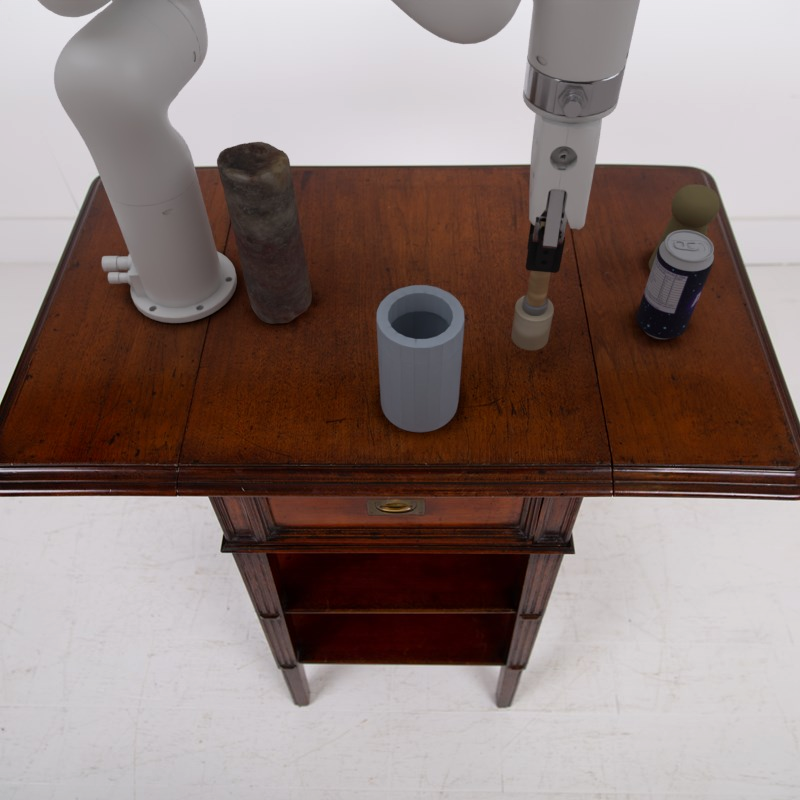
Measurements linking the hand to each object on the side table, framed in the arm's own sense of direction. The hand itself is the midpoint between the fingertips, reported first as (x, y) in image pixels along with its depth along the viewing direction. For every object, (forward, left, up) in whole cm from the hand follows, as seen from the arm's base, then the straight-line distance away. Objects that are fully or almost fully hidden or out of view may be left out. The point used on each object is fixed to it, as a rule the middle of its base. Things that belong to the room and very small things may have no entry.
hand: (542, 259), depth 74 cm
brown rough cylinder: (-28, +9, -14) cm, 33 cm away
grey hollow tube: (-12, -6, -14) cm, 20 cm away
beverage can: (+16, +4, -14) cm, 22 cm away
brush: (0, 0, -11) cm, 11 cm away
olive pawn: (+20, +14, -14) cm, 28 cm away
